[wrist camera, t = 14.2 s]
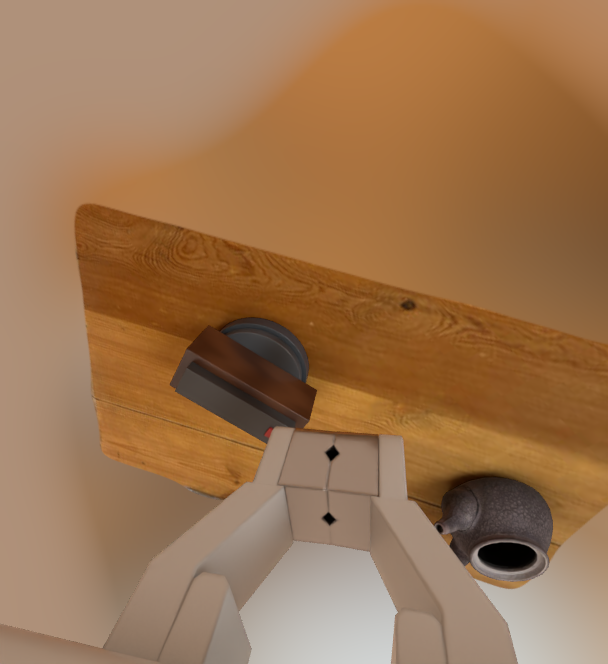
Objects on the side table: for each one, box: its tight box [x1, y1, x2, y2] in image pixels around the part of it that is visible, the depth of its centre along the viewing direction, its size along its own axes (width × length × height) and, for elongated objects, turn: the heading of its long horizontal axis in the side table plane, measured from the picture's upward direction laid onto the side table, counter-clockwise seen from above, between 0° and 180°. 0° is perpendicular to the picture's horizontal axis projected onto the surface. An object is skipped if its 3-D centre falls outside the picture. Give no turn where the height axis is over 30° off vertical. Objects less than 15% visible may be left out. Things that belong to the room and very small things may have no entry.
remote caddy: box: [170, 326, 317, 444], centre depth 37 cm, size 14×11×8 cm
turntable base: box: [220, 318, 309, 383], centre depth 41 cm, size 12×12×2 cm
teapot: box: [434, 477, 553, 582], centre depth 43 cm, size 19×15×10 cm
